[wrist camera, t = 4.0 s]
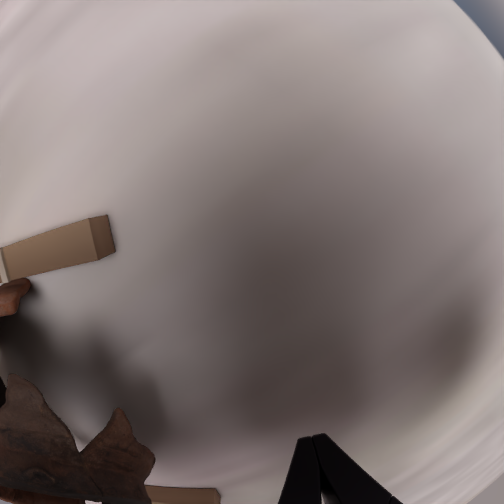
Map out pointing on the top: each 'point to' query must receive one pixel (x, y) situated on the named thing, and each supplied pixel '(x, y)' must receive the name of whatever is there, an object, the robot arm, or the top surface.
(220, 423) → the top surface
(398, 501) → the robot arm
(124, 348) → the top surface
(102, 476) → the brown broken pot
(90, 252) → the wooden u-shaped frame
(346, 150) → the top surface
